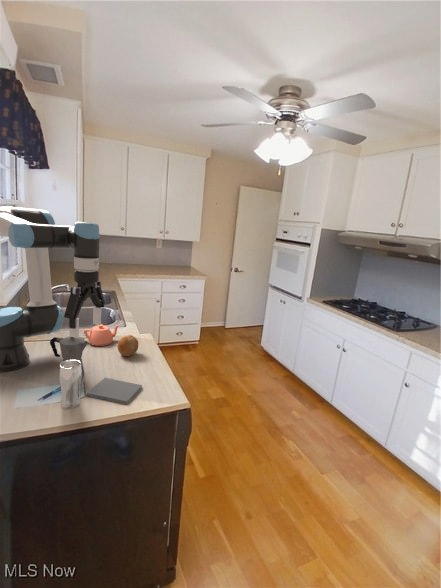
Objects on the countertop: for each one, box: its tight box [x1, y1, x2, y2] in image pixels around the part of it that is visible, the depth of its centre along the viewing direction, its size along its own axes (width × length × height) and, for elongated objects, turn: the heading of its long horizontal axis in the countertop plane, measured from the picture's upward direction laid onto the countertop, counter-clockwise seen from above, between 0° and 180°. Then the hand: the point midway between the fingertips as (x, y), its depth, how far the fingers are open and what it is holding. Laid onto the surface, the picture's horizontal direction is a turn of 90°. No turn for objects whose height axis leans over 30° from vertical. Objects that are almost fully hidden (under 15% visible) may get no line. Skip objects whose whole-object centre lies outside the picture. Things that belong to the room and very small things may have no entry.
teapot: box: [83, 323, 121, 347], centre depth 158 cm, size 12×18×10 cm
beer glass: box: [58, 360, 83, 410], centre depth 104 cm, size 7×7×15 cm
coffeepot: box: [49, 336, 90, 377], centre depth 122 cm, size 15×9×18 cm, turn 89°
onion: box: [117, 334, 139, 357], centre depth 146 cm, size 10×10×10 cm
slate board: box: [86, 377, 143, 405], centre depth 115 cm, size 16×12×1 cm
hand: (86, 330), depth 106 cm, fingers open, 13 cm apart
